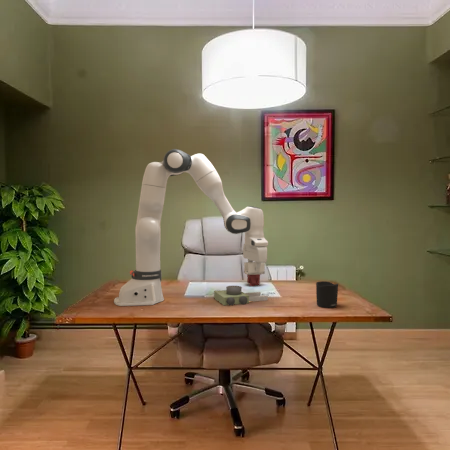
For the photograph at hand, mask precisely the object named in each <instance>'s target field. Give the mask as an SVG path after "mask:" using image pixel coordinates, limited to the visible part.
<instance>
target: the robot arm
mask: <svg viewBox="0 0 450 450" xmlns="http://www.w3.org/2000/svg"><path fill="white" fill-rule="evenodd" d="M184 173H187V174H188V175H190V176H191V178H192V179H193V181H194V182H195V184H196V185H197V187H198V188H199V189H200V190H201V192H202V193H203V194H204V195H205V196H206V197H208V198H209V199H210V200H211V201H212V202H213V204H214V205H215V207H216V208H217V210H218V211H219V213H220V215H221V216H222V218H223V226H224V228H225V229H226V230H227V232H229V233H230V234H234V235H239V234H242V233H244V244H243V247H242V248H243V250H242V257H243V258H244V259H246V260H247V262H256V267H255V271H257V272H258V271H260V266H261V263H265V264H266V263H267V261H268V246H269V241H268V240H267V239H266V238H265V234H264V233H265V232H264V226H265V219H264V218H265V217H264V210H263V209H262V208H260V207H257V206H254V205H253V206H252V205H247V206H246V207H244V208H243V209H241V210H239V211H236V210H235V209H234V208H233V207H232V205H231V203H230V202H229V200H228V198H227V197H226V195H225V192H224V188H223V182H222V179H221V177H220V175H219V173H218V171H217V169H216V168H215V167H214V165H213V163H212V162H211V161H210V160H209V159H208V158H207V156H205V154H203V153H194V154H193V155H190V154H188V153H186V152H185V151H183V150H181V149H178V148H173V149H169V150H168V151H166V153H165V154H164V156H163V158H162V161H159V162H158V161H152V162H150V163H148V164H147V165H146V167H145V169H144V173H143V177H142V182H141V188H140V195H139V202H138V210H137V217H136V224H135V229H134V230H135V231H134V232H135V270H130V271H129V274H130V275H131V279H129V280H128V281H127V282H126V283H125V284H123V285H122V286H121V287H120V288H119V289H120V290H119V293H118V296H117V297H115V298H114V299H113V303H114V305H116V306H117V307H118V306H120V307H126V306H128V307H131V306H152V305H156V304H157V303H161V302H163V301H164V300H165V297H164V295H163V289H162V279H163V278H162V277H163V276H162V269H161V240H162V239H161V237H162V236H161V233H162V232H161V231H162V230H161V228H162V227H161V223H162V216H163V210H164V206H165V205H164V203H165V199H166V190H167V185H168V179H169V177H174V176H180V175H182V174H184Z"/></svg>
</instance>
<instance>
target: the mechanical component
mask: <svg viewBox="0 0 450 450" xmlns="http://www.w3.org/2000/svg"><path fill="white" fill-rule="evenodd" d="M261 275H262V274H256V275H248V274H246V276H247V279H246V280H247V281H246V282H247V284H249V287H256V286H255V285H259V286H260V283H261V282H260V281H261Z"/></svg>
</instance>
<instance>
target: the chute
mask: <svg viewBox="0 0 450 450" xmlns="http://www.w3.org/2000/svg"><path fill="white" fill-rule="evenodd" d="M243 263H244V264H243V266H244V267H243V269H244V271H243V273H244V274H245V275H247V274H248V275H256V274H261V275H265V273H266V271H265V270H266V269H265V264H266V263H261V266H260V271H258V272H257V271H255V267H256V262H255V261H253V262H248V261H247V262H243Z"/></svg>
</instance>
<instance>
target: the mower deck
mask: <svg viewBox="0 0 450 450" xmlns="http://www.w3.org/2000/svg"><path fill="white" fill-rule="evenodd" d="M242 289H243V288H242V286H240V285H227V286H226V289H224V290H215V291H213V298H215V299H214V300H215V301H216V302H218V301H219V302H218V303H220V304H221V305H223V306H230V305H232V306H234V304H235V305H246V304H250V302H249V301H253V302H262V301H268V298H269V297H268V295H261V292H260V291H256V292H254V291H253V292H243V291H242Z"/></svg>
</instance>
